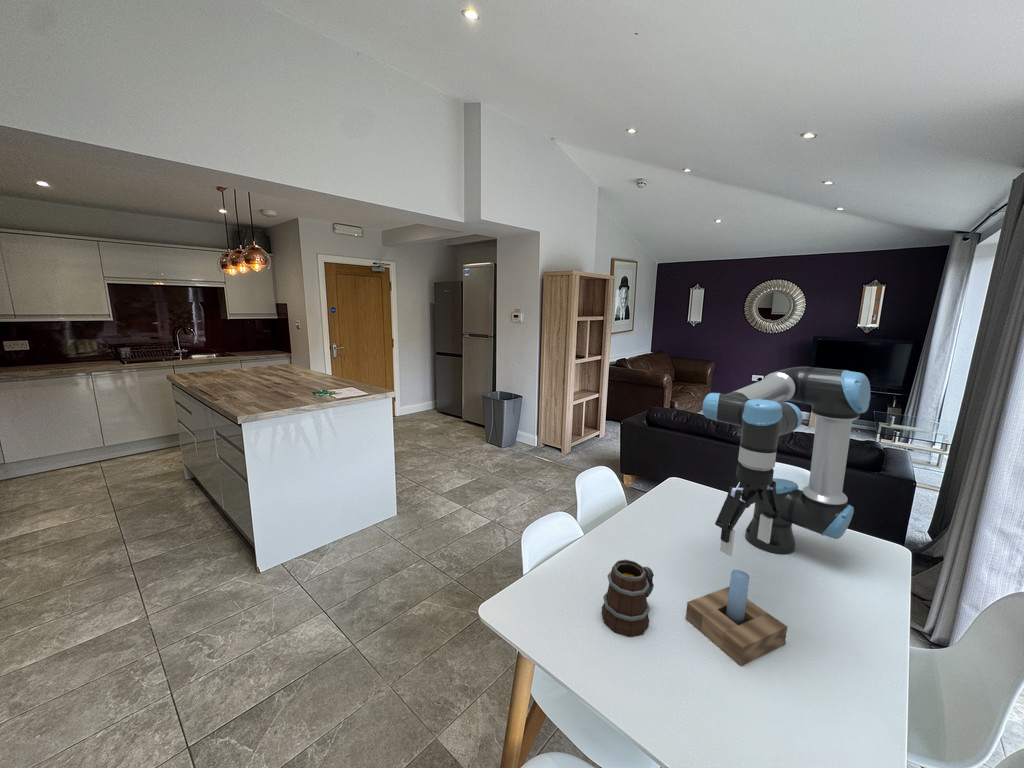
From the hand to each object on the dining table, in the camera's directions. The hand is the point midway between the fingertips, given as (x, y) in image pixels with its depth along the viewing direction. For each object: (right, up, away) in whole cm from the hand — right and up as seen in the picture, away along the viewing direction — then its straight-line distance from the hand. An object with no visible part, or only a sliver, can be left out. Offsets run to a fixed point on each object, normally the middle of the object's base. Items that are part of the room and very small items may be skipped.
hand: (745, 546), depth 101 cm
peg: (-1, -23, +4) cm, 24 cm away
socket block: (-1, -23, +4) cm, 24 cm away
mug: (-26, -22, +8) cm, 35 cm away
